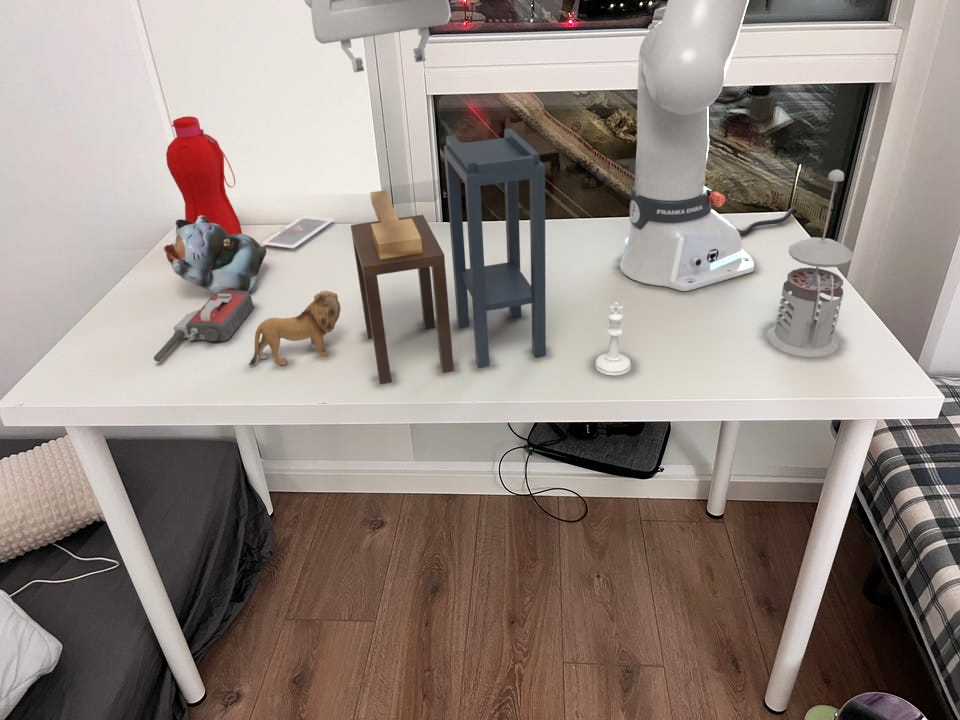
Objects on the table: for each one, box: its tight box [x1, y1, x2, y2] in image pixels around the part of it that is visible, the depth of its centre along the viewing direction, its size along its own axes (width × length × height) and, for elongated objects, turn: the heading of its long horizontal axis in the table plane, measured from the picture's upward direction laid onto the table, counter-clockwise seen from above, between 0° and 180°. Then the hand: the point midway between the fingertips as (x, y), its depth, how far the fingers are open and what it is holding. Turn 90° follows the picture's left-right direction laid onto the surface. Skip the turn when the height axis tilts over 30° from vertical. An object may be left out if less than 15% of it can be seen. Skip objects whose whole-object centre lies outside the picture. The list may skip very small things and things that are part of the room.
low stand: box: [350, 214, 455, 385], centre depth 107 cm, size 10×14×18 cm
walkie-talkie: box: [153, 290, 254, 362], centre depth 118 cm, size 9×4×20 cm
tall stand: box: [443, 127, 547, 369], centre depth 105 cm, size 10×14×29 cm
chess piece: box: [594, 301, 632, 377], centre depth 103 cm, size 5×5×10 cm
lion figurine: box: [248, 290, 342, 366], centre depth 110 cm, size 15×5×9 cm, turn 117°
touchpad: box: [259, 214, 336, 249], centre depth 150 cm, size 8×15×2 cm, turn 158°
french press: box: [766, 169, 854, 358], centre depth 102 cm, size 10×12×25 cm
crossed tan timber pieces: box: [369, 189, 423, 259], centre depth 105 cm, size 6×20×2 cm, turn 14°
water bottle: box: [165, 116, 243, 235], centre depth 141 cm, size 9×11×25 cm
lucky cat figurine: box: [163, 215, 267, 294], centre depth 130 cm, size 15×12×14 cm
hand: (389, 66), depth 114 cm, fingers open, 8 cm apart
